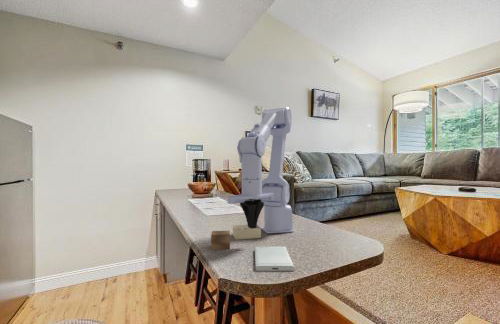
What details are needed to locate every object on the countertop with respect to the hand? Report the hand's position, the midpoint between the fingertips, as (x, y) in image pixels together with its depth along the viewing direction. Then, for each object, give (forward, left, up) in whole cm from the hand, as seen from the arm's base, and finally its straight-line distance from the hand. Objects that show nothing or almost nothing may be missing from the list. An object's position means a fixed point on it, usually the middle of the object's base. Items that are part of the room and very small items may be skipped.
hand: (252, 227), depth 65 cm
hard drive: (-2, +11, -6) cm, 13 cm away
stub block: (+9, -1, -5) cm, 10 cm away
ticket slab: (0, -9, -5) cm, 10 cm away
